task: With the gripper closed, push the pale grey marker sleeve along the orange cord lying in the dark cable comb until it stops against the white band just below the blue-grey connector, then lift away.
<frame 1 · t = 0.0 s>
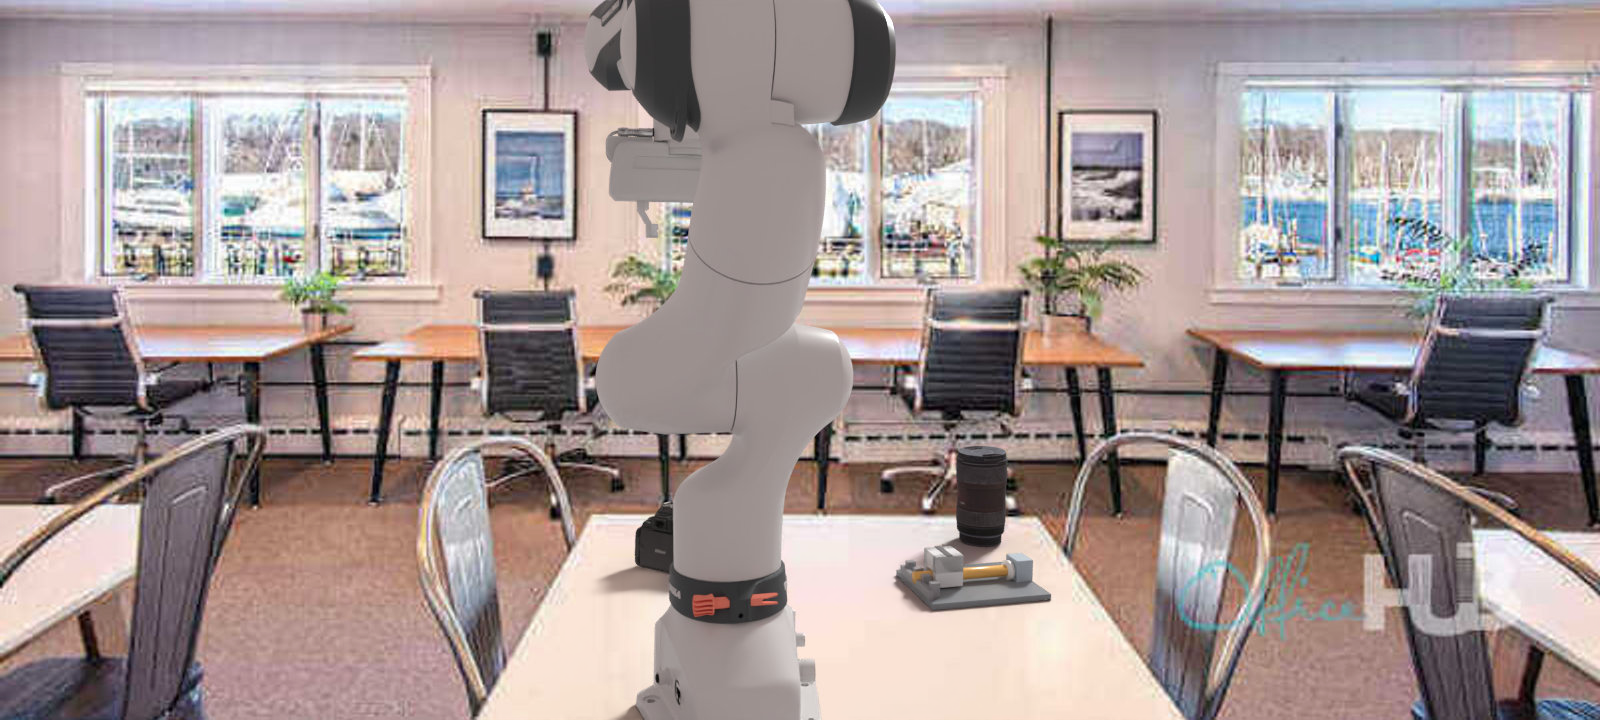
hand: (688, 238, 122), 48 cm above the table, fingers open, 8 cm apart
sleeve: (943, 566, 130), point 3 cm above the table, slide at 0.0 cm
camera: (680, 570, 138), on the table
camera lens: (979, 541, 153), on the table
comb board: (970, 587, 131), on the table
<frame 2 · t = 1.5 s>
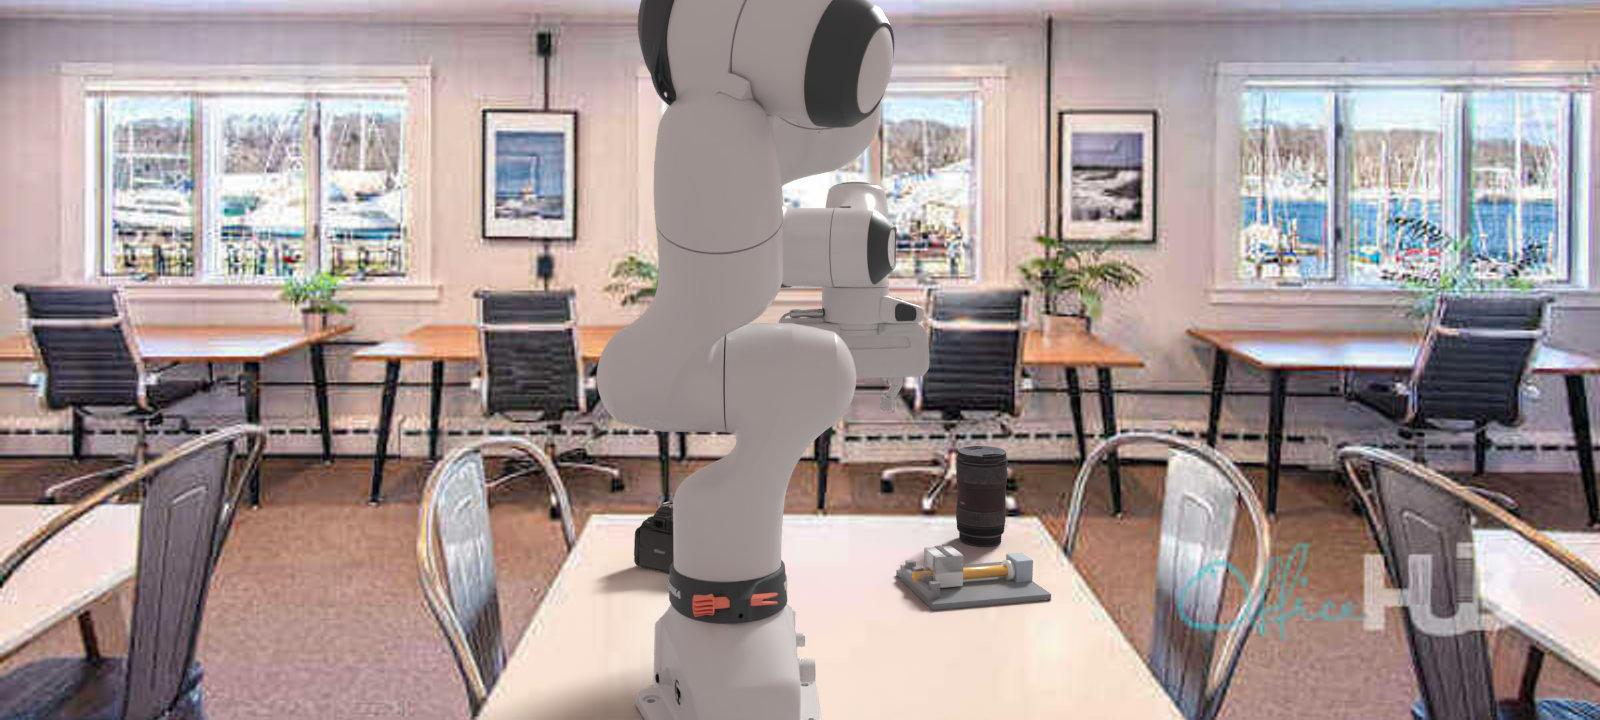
hand: (853, 411, 126), 25 cm above the table, fingers open, 8 cm apart
nothing on the table moved.
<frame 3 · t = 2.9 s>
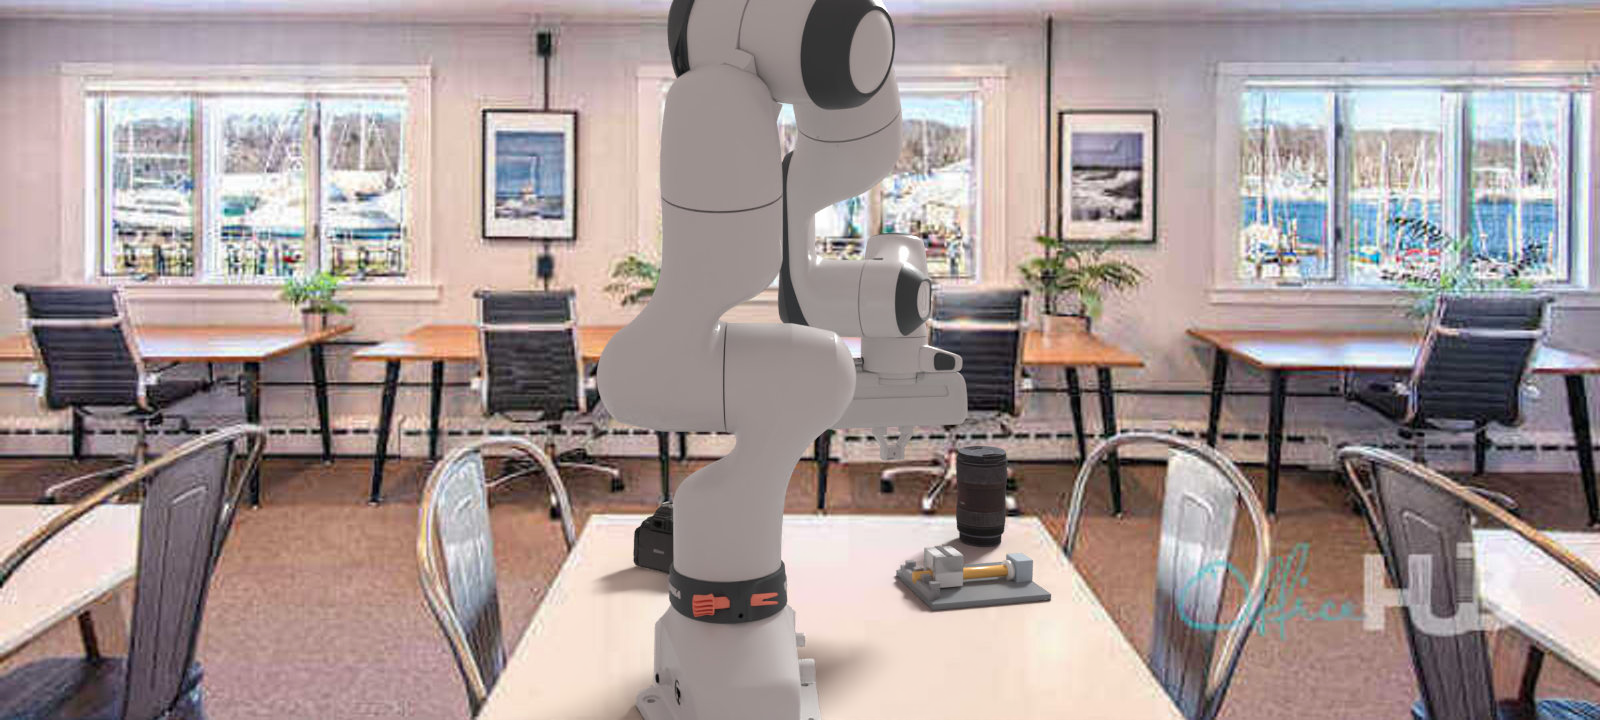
hand: (892, 459, 126), 19 cm above the table, fingers closed
nothing on the table moved.
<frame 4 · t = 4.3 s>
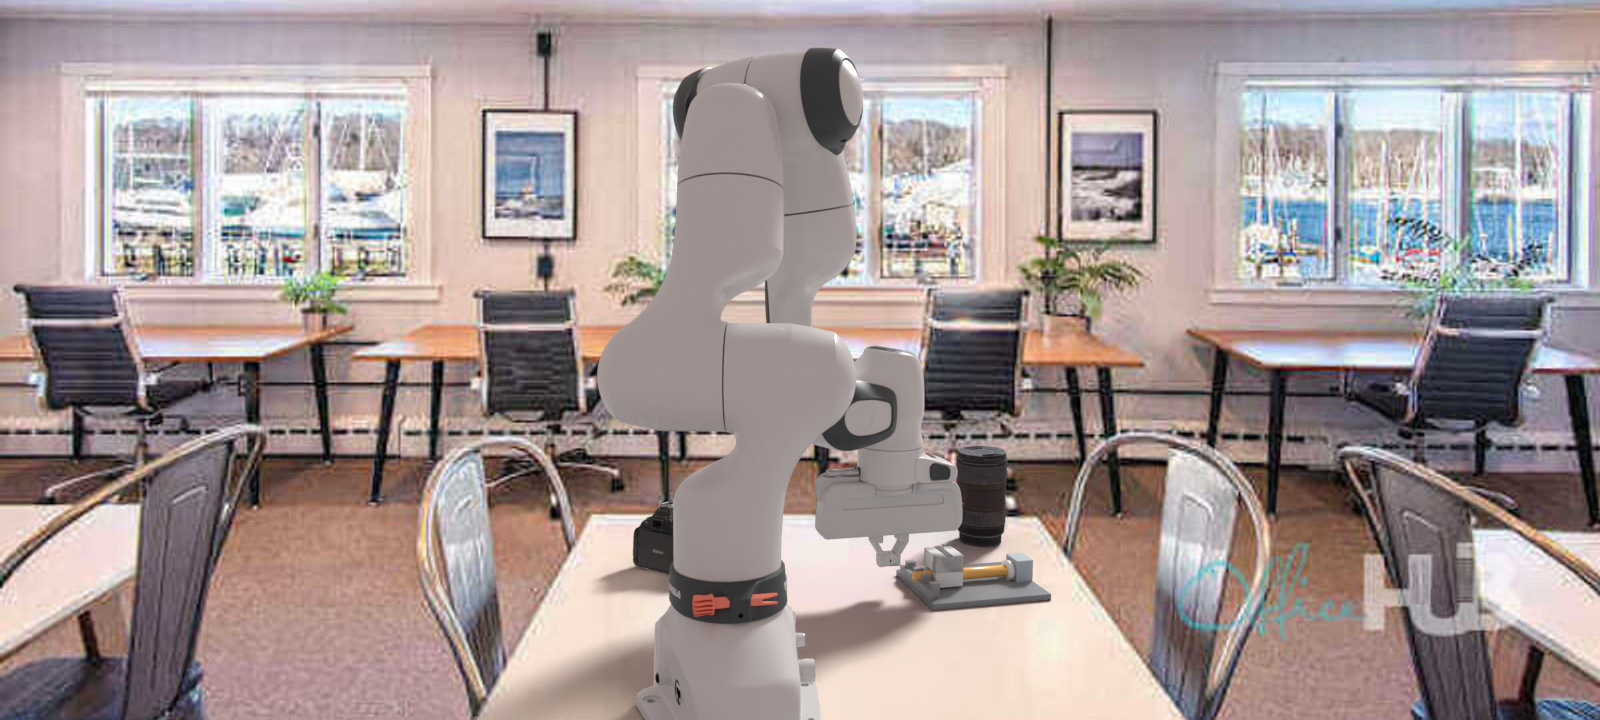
hand: (888, 565, 128), 4 cm above the table, fingers closed
nothing on the table moved.
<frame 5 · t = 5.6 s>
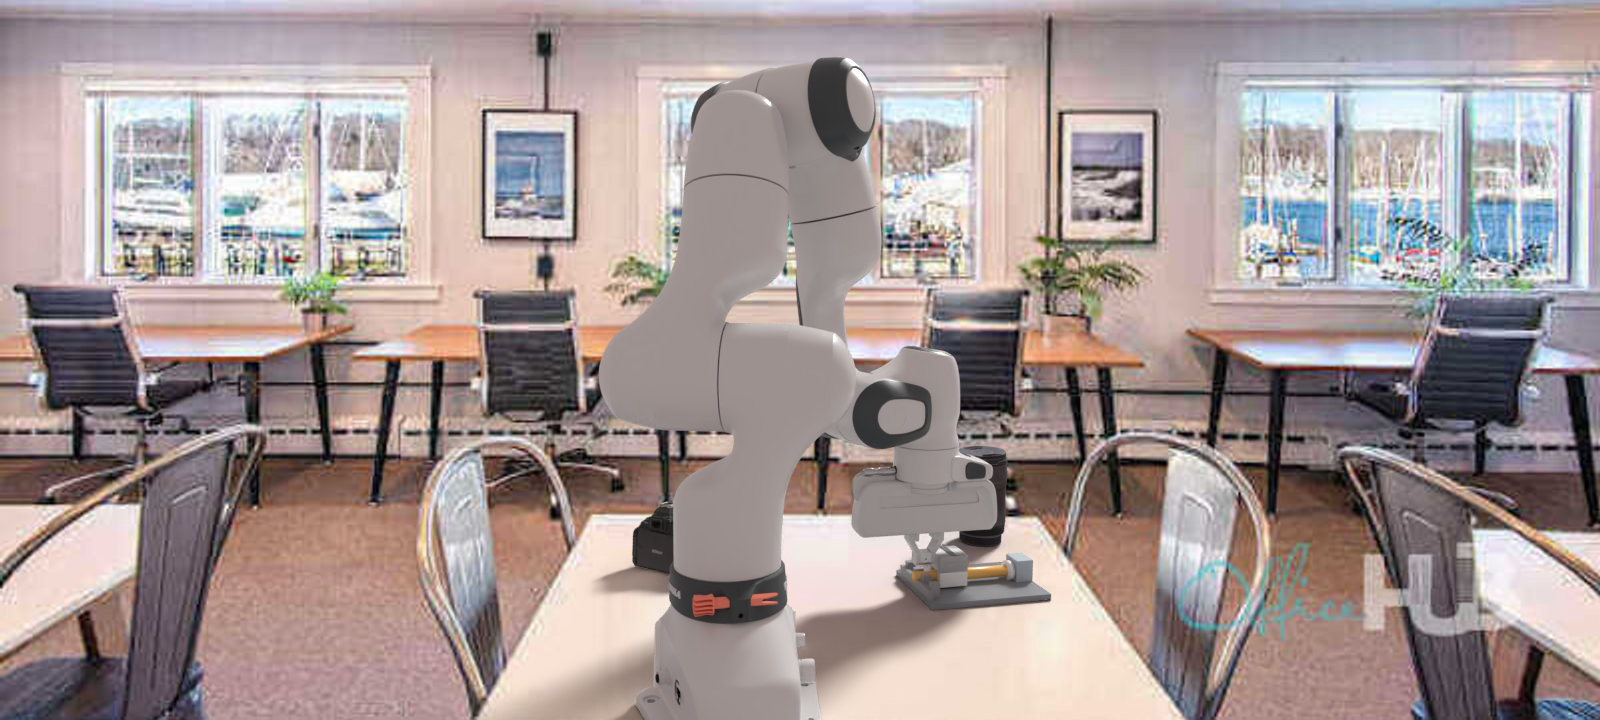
hand: (923, 563, 129), 4 cm above the table, fingers closed
sleeve: (947, 565, 130), point 3 cm above the table, slide at 0.6 cm, touching gripper
everything else where it was.
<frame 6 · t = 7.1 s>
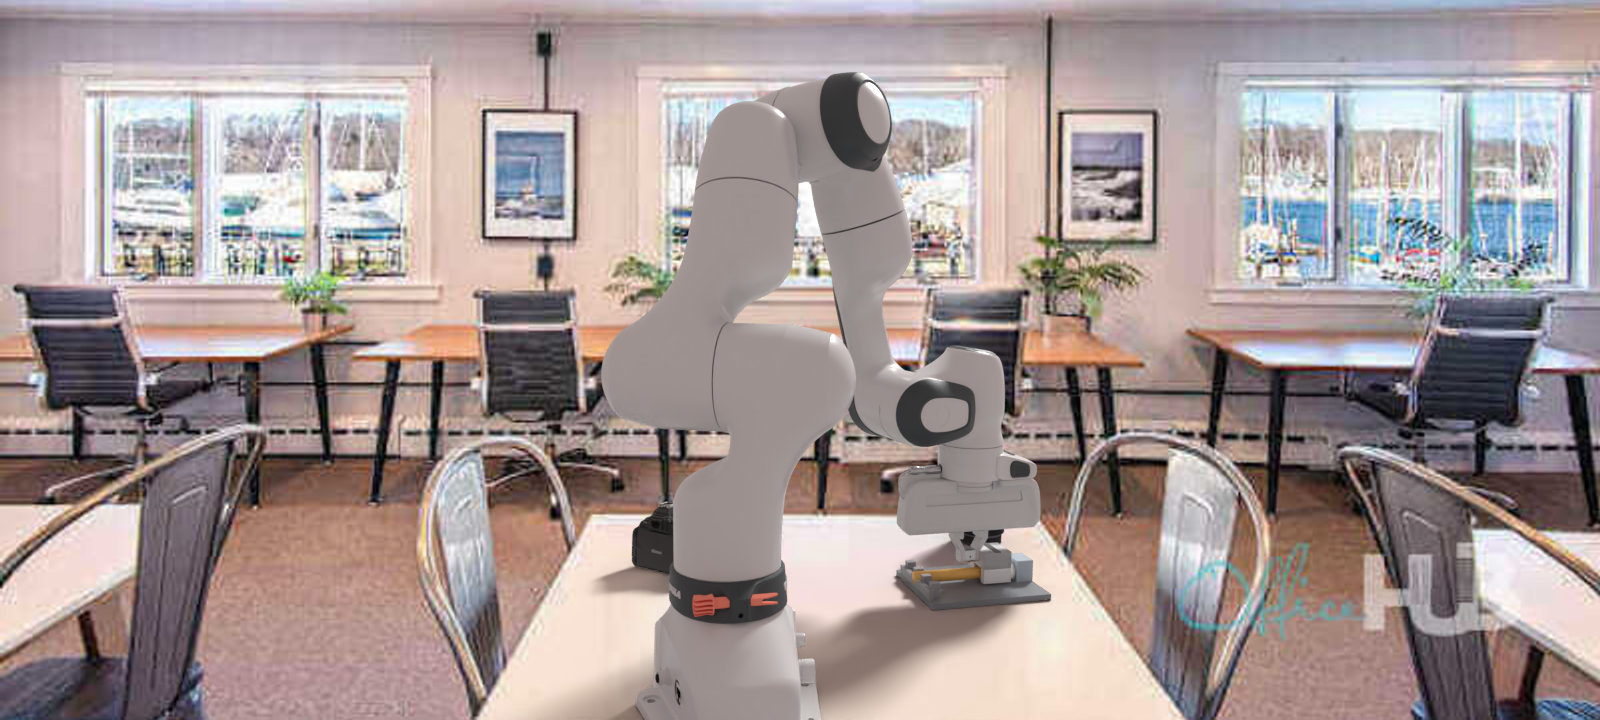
hand: (967, 561, 131), 4 cm above the table, fingers closed
sleeve: (990, 562, 132), point 3 cm above the table, slide at 7.1 cm, touching gripper
everything else where it was.
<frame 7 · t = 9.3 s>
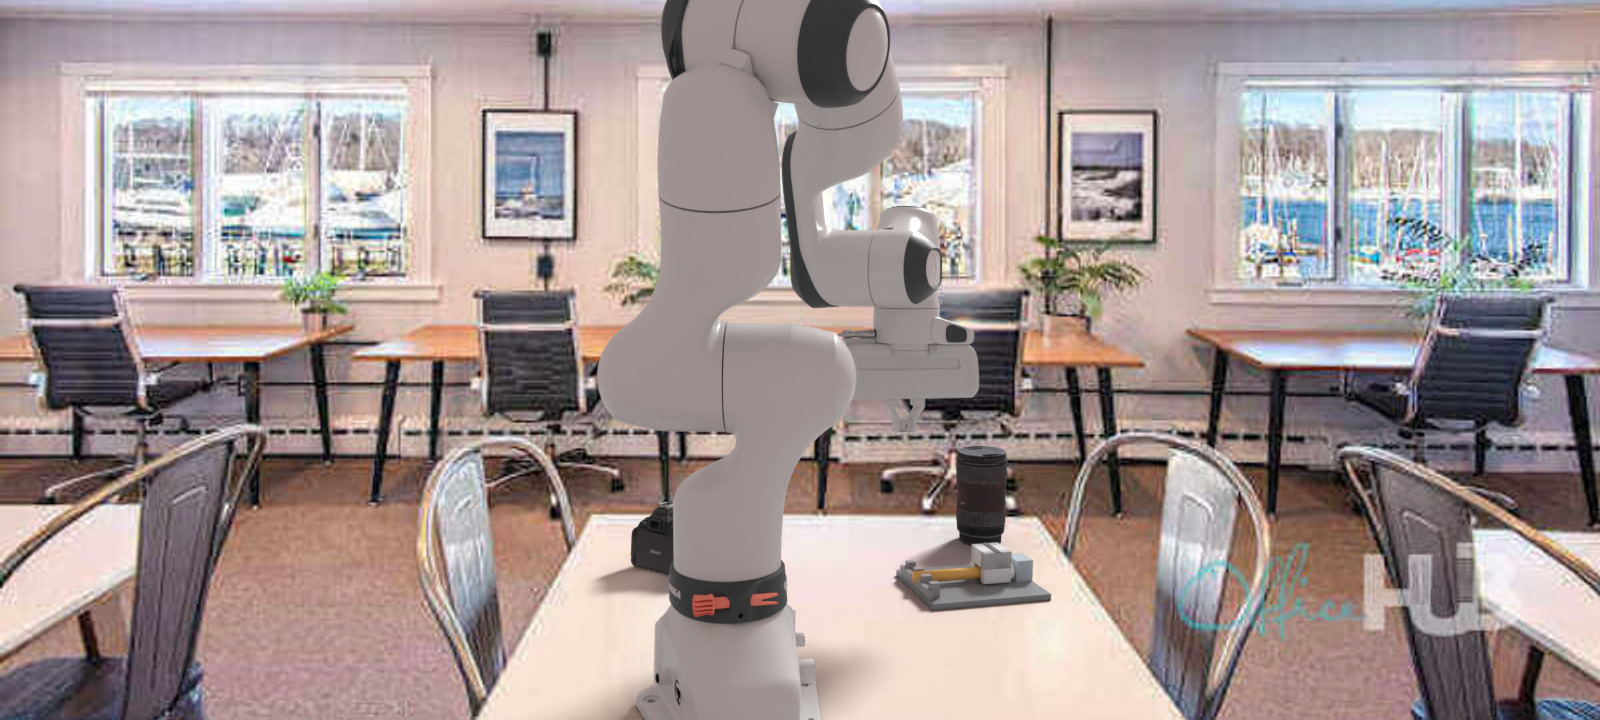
hand: (904, 431, 127), 22 cm above the table, fingers closed
sleeve: (990, 562, 132), point 3 cm above the table, slide at 7.1 cm
everything else where it was.
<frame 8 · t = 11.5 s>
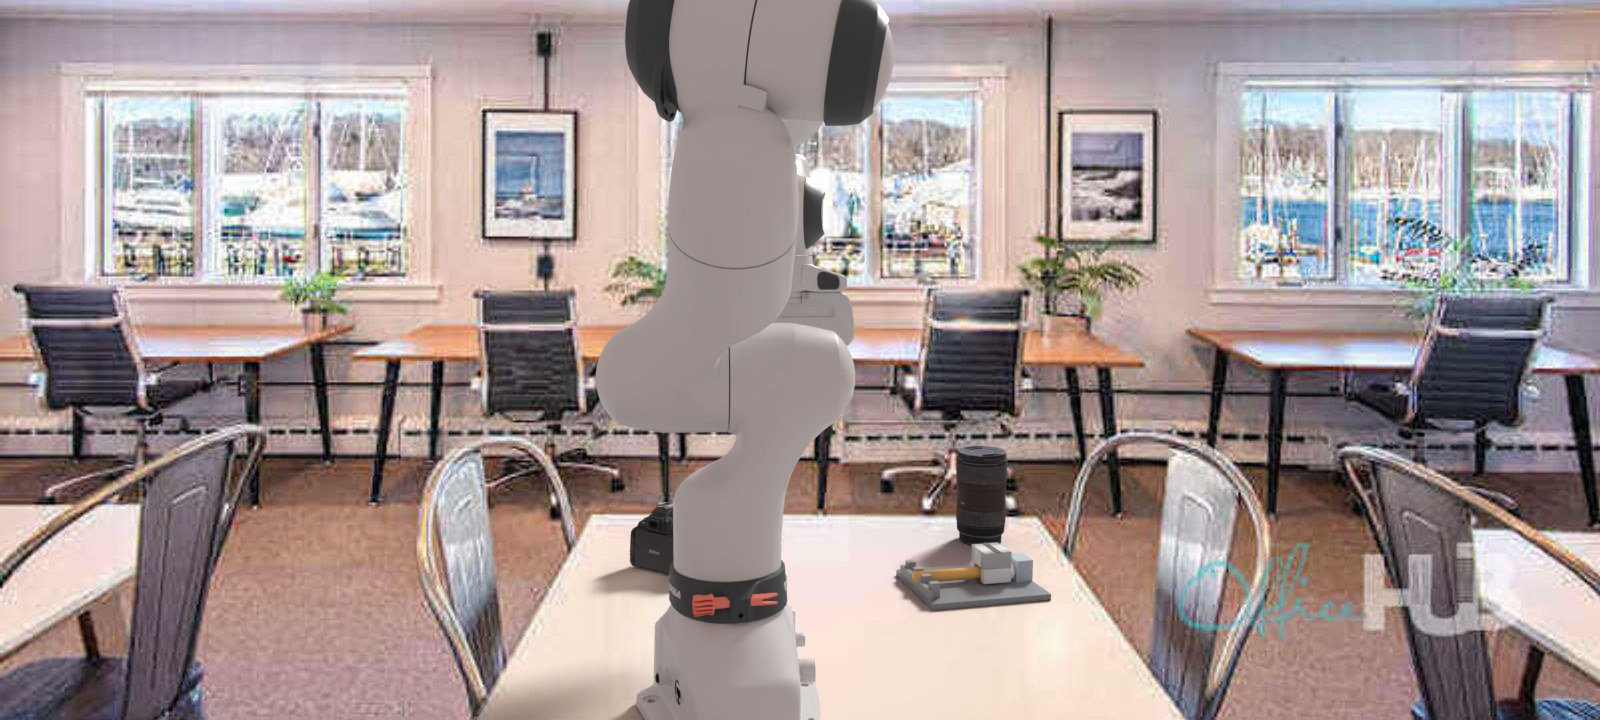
hand: (779, 380, 127), 29 cm above the table, fingers closed
nothing on the table moved.
at the end: sleeve slide at 7.1 cm; sleeve 0.1 cm from the target spot on the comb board, point 3.3 cm above the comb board's base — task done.
